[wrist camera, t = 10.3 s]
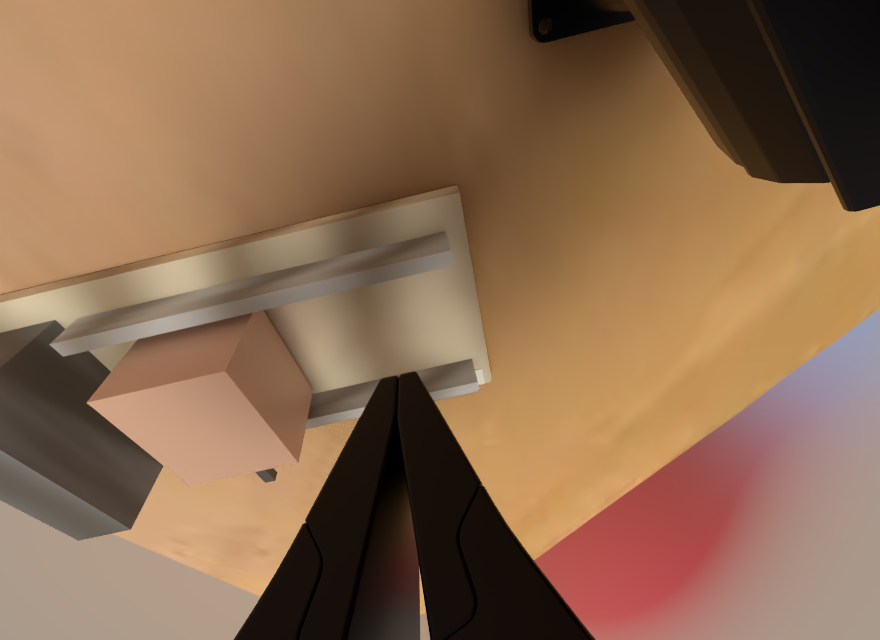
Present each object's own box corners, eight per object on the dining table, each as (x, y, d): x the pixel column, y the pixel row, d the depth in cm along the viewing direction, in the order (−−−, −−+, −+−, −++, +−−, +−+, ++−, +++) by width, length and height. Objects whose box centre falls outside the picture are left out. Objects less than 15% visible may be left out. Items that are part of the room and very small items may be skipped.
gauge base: (456, 185, 18) (486, 253, 13) (488, 370, 26) (515, 462, 21) (-12, 297, 19) (-176, 408, 13) (158, 444, 27) (99, 551, 21)
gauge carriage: (257, 301, 19) (224, 371, 15) (328, 414, 25) (317, 486, 21) (147, 327, 20) (86, 402, 16) (242, 433, 25) (215, 508, 21)
